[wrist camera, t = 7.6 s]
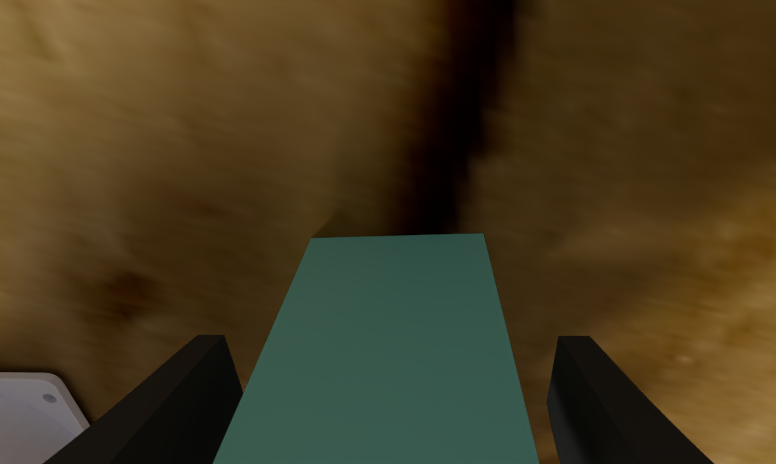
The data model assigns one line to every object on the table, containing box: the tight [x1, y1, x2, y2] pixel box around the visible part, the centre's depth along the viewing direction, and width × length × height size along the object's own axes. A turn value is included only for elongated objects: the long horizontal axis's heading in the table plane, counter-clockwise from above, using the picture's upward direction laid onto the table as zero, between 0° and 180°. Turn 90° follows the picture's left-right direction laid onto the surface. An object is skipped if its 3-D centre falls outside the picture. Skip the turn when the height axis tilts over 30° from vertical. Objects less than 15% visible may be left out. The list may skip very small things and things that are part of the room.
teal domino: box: [213, 233, 539, 464], centre depth 10 cm, size 2×5×8 cm, turn 94°
